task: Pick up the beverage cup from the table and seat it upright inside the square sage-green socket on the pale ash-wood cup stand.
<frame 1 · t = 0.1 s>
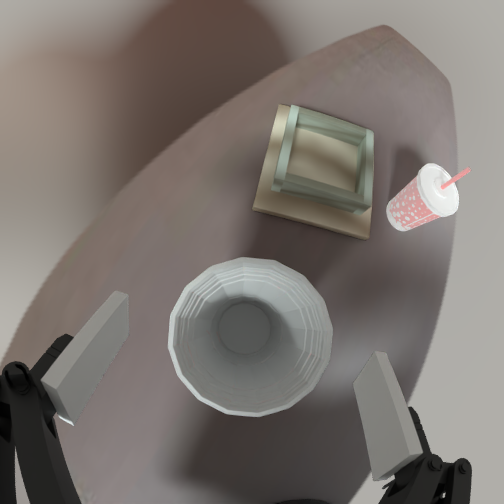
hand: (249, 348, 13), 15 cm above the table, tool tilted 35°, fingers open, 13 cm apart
plastic cup: (242, 329, 28), on the table
beverage cup: (399, 215, 33), on the table
cup stand: (320, 167, 33), on the table
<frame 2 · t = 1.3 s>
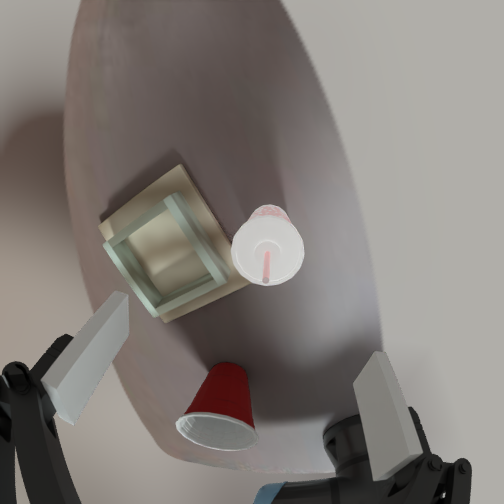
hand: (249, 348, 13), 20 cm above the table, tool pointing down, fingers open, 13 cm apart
plastic cup: (228, 374, 40), on the table
beverage cup: (269, 223, 32), on the table
cup stand: (171, 250, 33), on the table
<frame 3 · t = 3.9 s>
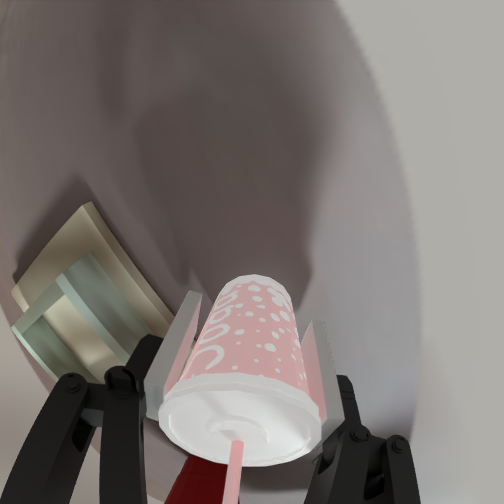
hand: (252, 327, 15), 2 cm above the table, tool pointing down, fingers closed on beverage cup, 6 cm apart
plastic cup: (211, 459, 27), on the table
beverage cup: (254, 306, 17), on the table, touching gripper
cup stand: (104, 334, 19), on the table
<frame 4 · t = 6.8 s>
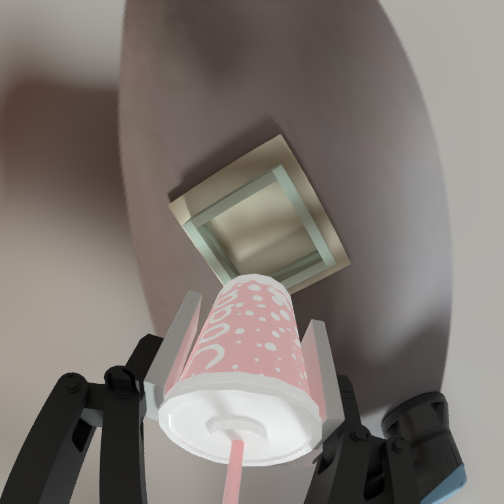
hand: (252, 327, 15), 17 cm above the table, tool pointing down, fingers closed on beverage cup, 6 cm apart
beverage cup: (254, 305, 17), point 15 cm above the table, touching gripper
cup stand: (262, 231, 30), on the table
when the fingers open (5 cm above the table, at t = 9.6 s): beverage cup drops 2 cm, resting on cup stand.
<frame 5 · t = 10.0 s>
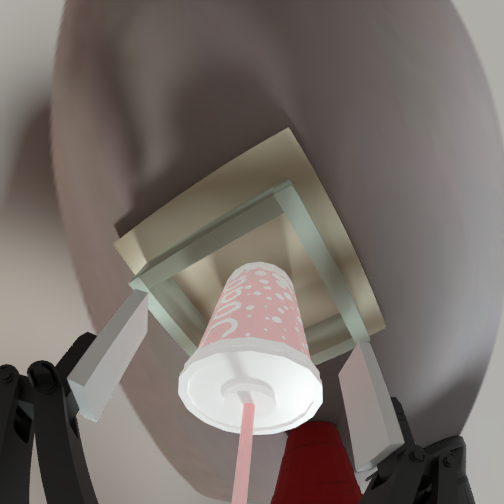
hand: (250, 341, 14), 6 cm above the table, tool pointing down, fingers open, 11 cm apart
plastic cup: (311, 432, 27), on the table
beverage cup: (259, 291, 19), point 1 cm above the table, touching cup stand
cup stand: (256, 284, 19), on the table
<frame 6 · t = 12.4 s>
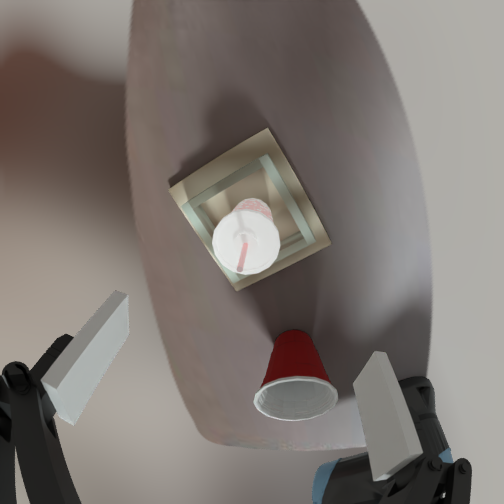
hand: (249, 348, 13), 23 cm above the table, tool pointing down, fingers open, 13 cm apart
plastic cup: (292, 343, 42), on the table
beverage cup: (252, 216, 33), point 1 cm above the table, touching cup stand
cup stand: (251, 213, 34), on the table
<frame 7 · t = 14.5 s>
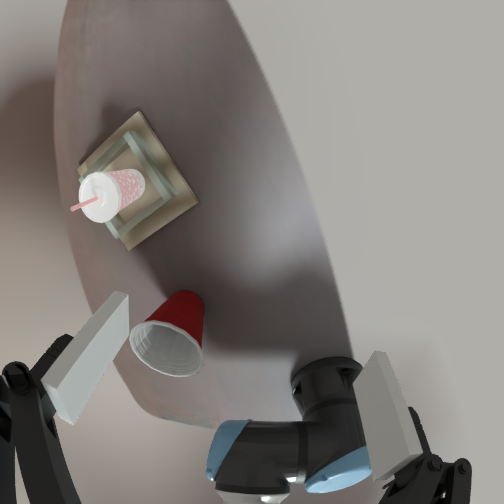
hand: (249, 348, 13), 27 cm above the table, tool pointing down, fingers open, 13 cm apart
plastic cup: (187, 305, 45), on the table
beverage cup: (132, 184, 37), point 1 cm above the table, touching cup stand
cup stand: (133, 182, 37), on the table
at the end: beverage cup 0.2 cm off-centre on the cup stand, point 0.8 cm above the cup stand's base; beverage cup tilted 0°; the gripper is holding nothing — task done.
